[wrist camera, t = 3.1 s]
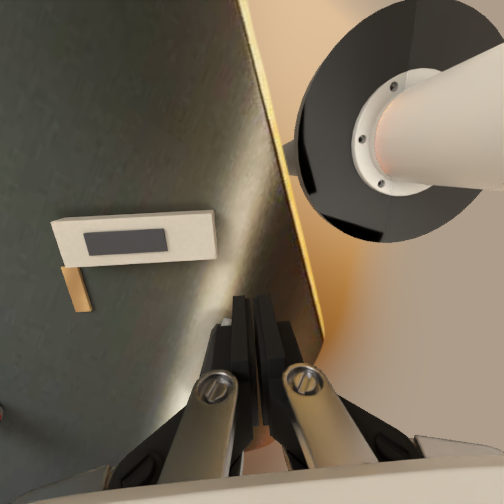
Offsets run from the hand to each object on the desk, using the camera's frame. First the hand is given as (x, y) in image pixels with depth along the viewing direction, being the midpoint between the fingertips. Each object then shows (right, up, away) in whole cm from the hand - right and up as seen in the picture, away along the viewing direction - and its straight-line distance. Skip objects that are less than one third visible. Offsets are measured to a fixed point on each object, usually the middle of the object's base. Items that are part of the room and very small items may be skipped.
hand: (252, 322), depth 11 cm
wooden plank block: (-21, -1, +18) cm, 27 cm away
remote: (-12, +5, +16) cm, 21 cm away
